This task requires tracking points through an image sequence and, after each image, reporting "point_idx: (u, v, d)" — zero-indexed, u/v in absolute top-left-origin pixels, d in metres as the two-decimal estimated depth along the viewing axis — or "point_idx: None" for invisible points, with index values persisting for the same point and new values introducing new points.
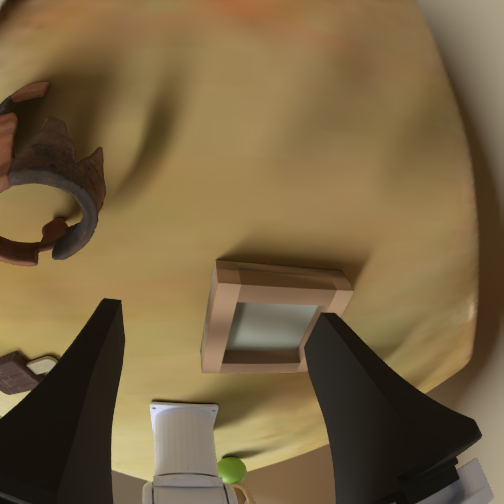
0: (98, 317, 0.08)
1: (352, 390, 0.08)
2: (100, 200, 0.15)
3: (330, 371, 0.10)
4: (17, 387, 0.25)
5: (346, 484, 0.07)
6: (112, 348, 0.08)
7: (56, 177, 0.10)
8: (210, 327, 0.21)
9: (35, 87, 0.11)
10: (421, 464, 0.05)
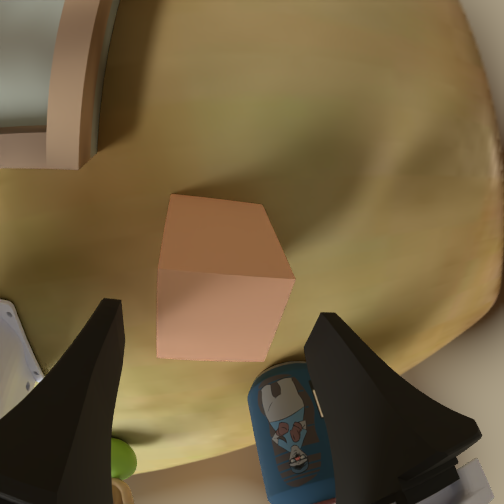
0: (98, 317, 0.08)
1: (352, 390, 0.08)
2: None
3: (330, 370, 0.10)
4: None
5: (346, 484, 0.07)
6: (112, 348, 0.08)
7: None
8: None
9: None
10: (421, 463, 0.05)
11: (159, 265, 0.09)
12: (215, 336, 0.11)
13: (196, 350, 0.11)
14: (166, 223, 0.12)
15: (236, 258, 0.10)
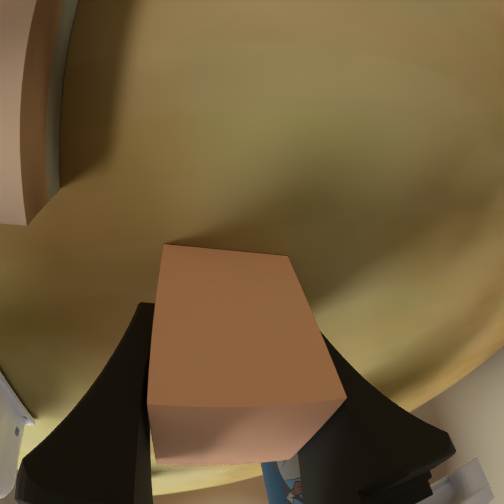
0: (139, 322, 0.08)
1: None
2: None
3: None
4: None
5: (311, 493, 0.07)
6: None
7: None
8: None
9: None
10: (381, 480, 0.05)
11: (150, 397, 0.05)
12: (231, 450, 0.07)
13: (206, 459, 0.08)
14: (156, 305, 0.08)
15: (263, 371, 0.07)
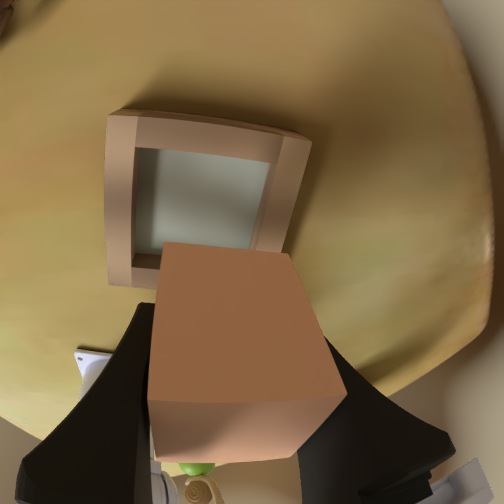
0: (139, 322, 0.08)
1: None
2: None
3: None
4: None
5: (311, 493, 0.07)
6: None
7: None
8: (105, 195, 0.14)
9: None
10: (381, 480, 0.05)
11: (150, 392, 0.05)
12: (232, 448, 0.07)
13: (206, 457, 0.08)
14: (157, 302, 0.08)
15: (263, 367, 0.07)
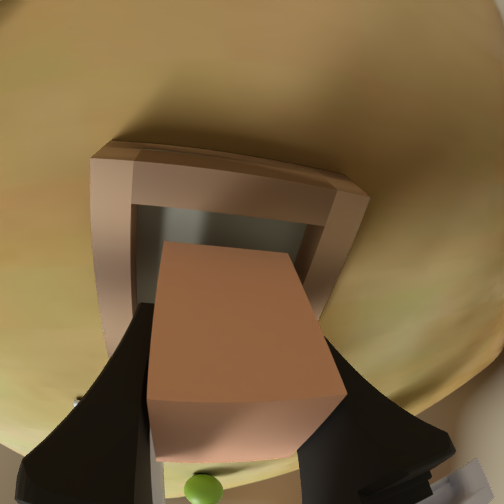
0: (139, 322, 0.08)
1: None
2: None
3: None
4: None
5: (311, 493, 0.07)
6: None
7: None
8: (95, 263, 0.11)
9: None
10: (381, 480, 0.05)
11: (149, 392, 0.05)
12: (231, 447, 0.07)
13: (206, 457, 0.08)
14: (156, 301, 0.08)
15: (263, 367, 0.07)
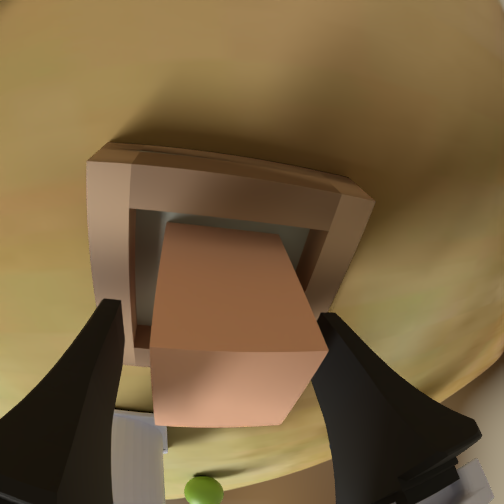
0: (98, 317, 0.08)
1: (352, 390, 0.08)
2: None
3: (330, 370, 0.10)
4: None
5: (346, 484, 0.07)
6: (112, 348, 0.08)
7: None
8: (93, 269, 0.10)
9: None
10: (421, 463, 0.05)
11: (152, 341, 0.07)
12: (225, 408, 0.09)
13: (201, 419, 0.09)
14: (160, 270, 0.09)
15: (252, 324, 0.08)
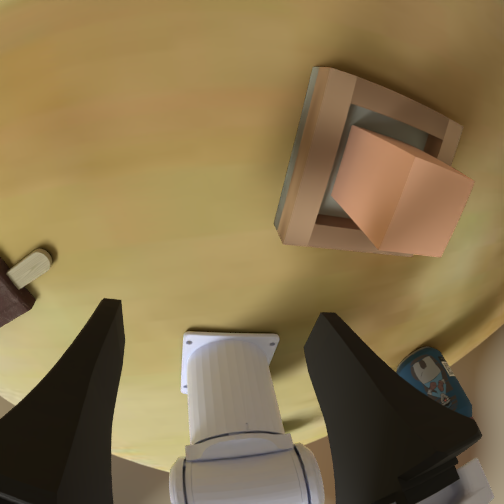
0: (98, 317, 0.08)
1: (352, 390, 0.08)
2: None
3: (330, 371, 0.10)
4: None
5: (346, 484, 0.07)
6: (112, 348, 0.08)
7: None
8: (311, 145, 0.14)
9: None
10: (421, 464, 0.05)
11: (413, 155, 0.11)
12: (425, 226, 0.13)
13: (408, 241, 0.13)
14: (380, 138, 0.13)
15: (440, 164, 0.12)
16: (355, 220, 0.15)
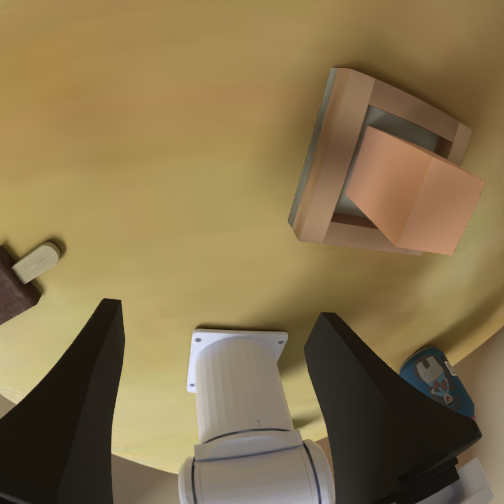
0: (98, 317, 0.08)
1: (352, 390, 0.08)
2: None
3: (329, 370, 0.10)
4: None
5: (346, 484, 0.07)
6: (112, 348, 0.08)
7: None
8: (330, 143, 0.14)
9: None
10: (421, 463, 0.05)
11: (431, 156, 0.11)
12: (439, 224, 0.13)
13: (423, 238, 0.13)
14: (396, 138, 0.13)
15: (454, 165, 0.12)
16: (371, 217, 0.15)
